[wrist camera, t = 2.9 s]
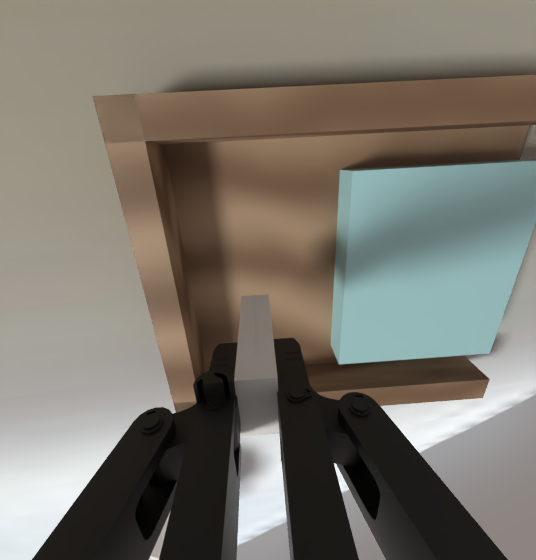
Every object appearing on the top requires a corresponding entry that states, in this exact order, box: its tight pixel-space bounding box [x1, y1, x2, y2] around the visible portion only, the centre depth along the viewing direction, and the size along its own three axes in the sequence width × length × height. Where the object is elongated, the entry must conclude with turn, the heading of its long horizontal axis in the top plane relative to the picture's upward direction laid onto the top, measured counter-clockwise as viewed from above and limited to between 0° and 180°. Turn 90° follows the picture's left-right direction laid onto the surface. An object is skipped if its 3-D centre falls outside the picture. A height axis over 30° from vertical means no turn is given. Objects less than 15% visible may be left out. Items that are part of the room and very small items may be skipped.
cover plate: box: [331, 160, 536, 364], centre depth 20 cm, size 14×12×2 cm
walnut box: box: [93, 75, 536, 413], centre depth 19 cm, size 22×25×4 cm
